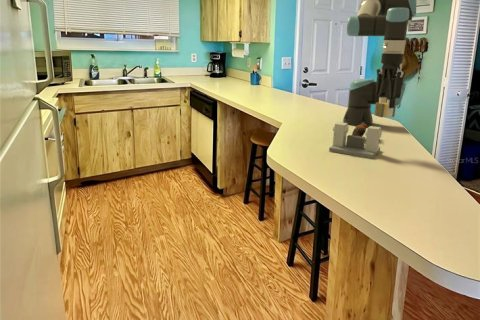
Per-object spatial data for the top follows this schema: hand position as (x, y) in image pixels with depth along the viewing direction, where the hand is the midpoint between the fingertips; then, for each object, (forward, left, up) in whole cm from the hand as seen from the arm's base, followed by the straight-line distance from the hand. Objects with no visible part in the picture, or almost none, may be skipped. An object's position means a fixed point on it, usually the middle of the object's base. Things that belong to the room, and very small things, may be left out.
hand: (384, 114), depth 143 cm
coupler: (0, 0, 0) cm, 0 cm away
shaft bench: (+6, -9, -15) cm, 18 cm away
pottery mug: (-15, -11, -15) cm, 24 cm away
